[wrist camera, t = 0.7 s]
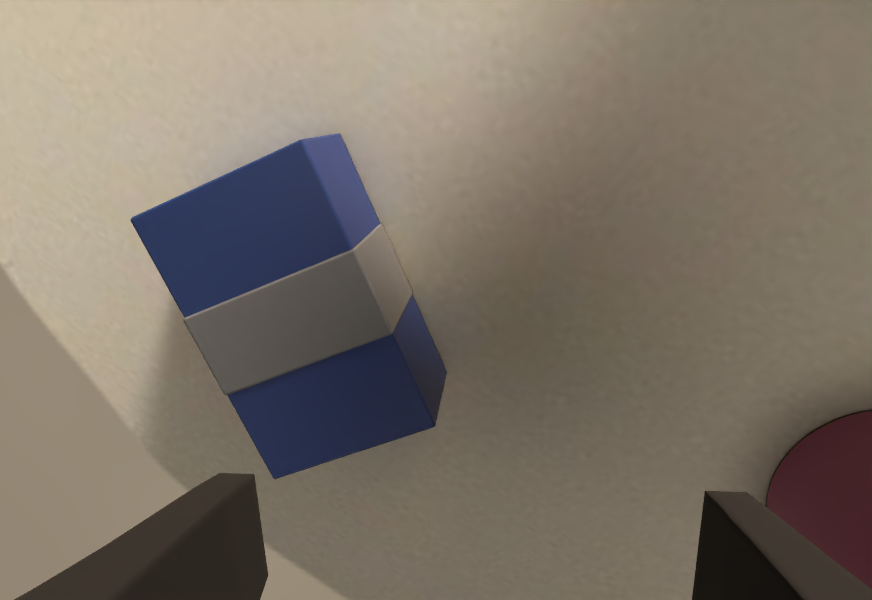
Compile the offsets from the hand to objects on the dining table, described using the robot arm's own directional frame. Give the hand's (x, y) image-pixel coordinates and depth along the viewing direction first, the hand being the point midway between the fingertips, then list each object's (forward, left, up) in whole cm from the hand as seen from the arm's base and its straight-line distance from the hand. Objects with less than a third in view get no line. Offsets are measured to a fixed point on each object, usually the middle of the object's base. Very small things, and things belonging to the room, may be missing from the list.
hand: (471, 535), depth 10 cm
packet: (-1, +5, -10) cm, 11 cm away
